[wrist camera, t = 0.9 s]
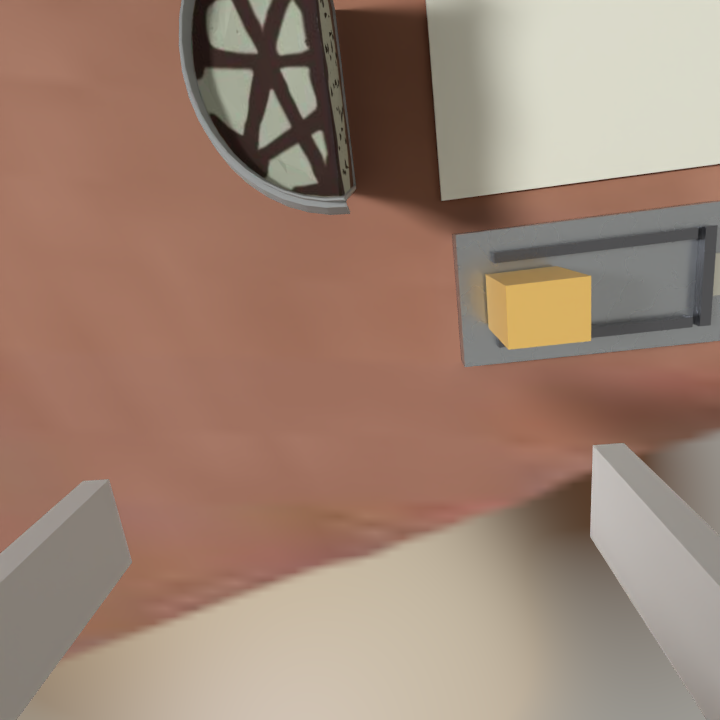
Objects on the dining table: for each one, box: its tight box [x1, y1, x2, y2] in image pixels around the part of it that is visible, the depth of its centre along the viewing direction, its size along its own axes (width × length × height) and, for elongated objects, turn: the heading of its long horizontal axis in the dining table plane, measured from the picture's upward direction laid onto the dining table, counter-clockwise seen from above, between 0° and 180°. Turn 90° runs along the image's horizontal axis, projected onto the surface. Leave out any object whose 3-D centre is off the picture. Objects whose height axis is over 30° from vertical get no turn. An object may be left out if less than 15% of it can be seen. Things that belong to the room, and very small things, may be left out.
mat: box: [426, 0, 720, 201], centre depth 26 cm, size 14×18×1 cm
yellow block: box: [486, 266, 591, 350], centre depth 26 cm, size 3×4×5 cm
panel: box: [452, 201, 720, 367], centre depth 29 cm, size 8×15×2 cm, turn 97°
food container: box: [179, 0, 356, 215], centre depth 23 cm, size 12×6×10 cm, turn 7°
